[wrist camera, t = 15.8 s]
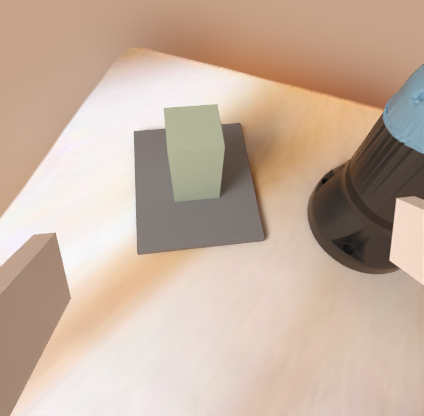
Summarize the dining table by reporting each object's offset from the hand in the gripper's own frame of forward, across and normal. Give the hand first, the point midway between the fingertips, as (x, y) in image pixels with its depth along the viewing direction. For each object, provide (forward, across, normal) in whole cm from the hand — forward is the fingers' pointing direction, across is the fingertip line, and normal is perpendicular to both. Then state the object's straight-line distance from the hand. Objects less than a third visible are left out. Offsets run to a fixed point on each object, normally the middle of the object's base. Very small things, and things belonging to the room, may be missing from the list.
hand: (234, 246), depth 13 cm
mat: (+34, 0, -6) cm, 34 cm away
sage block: (+33, 0, -5) cm, 33 cm away
